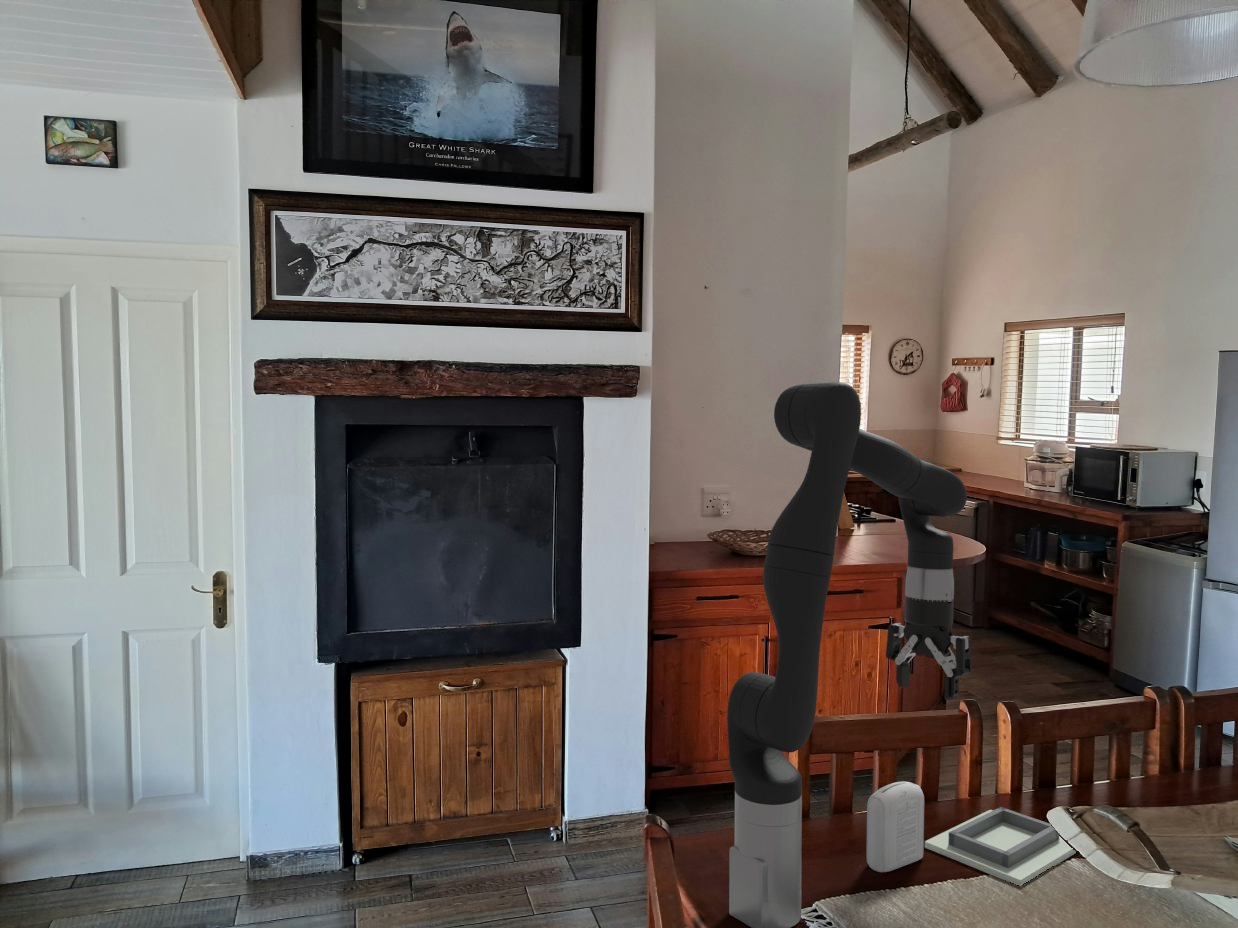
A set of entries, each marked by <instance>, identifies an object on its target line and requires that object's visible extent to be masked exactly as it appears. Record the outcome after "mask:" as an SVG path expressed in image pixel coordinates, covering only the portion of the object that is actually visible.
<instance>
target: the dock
mask: <svg viewBox="0 0 1238 928" xmlns="http://www.w3.org/2000/svg"><path fill="white" fill-rule="evenodd" d="M1051 824H1052V823H1048V822H1046V821H1043V820H1040V819H1037V818H1035V817H1031V816H1028V815H1025V814H1023V813H1019V812H1017V811H1014V810H1012V809H1011V810H1010V809H1008V808H1005V807H1002V806H1000V807H997V808H996V809H994V810H992V809H989V810H986V811H985V812H982V813H981V814H978V815H977V816H974V817H972V818H970V819H967V820H966V821H965V822H962V823H960V824H958V825H956V826H954V827H951V828H950V829H947V830H946V831H943V832H941V833H939V834H937V835H935V836H933V837H931V838H929V839H927V840H924V849H927V850H930V851H932V852H935V853H937V854H939V855H942V856H944V857H947V858H950V859H951V860H954V861H957V862H959V863H961V864H964V865H967V866H969V867H972V868H974V869H977V870H979V871H981V872H983V873H986V874H988V875H990V876H994V878H995V877H996V878H998V879H1001V880H1003V881H1005V880H1006V882H1008V883H1010V882H1011V883H1010V884H1012V883H1014V884H1013V885H1015V884H1017V885H1019V886H1018V887H1020V888H1021V887H1023V886H1024V885H1025V884H1024V883H1026V882H1028V881H1029V880H1031V879H1033V878H1034V877H1035V876H1037V875H1039V874H1040V873H1042V872H1044V871H1045V870H1047V869H1049V868H1051V867H1052V866H1054V867H1055V866H1057V865H1059V864H1061V863H1062V862H1064V861H1065V860H1067V859H1069V858H1071V857H1072V856H1074V855H1075V854H1076V851H1075V850H1073V848H1071V847H1070V846H1069V845H1068V844H1067V843H1066V842H1065V841H1064V840H1063V839H1062V838H1061V837H1060V836H1059V834H1060V833H1059V834H1058V833H1057V832H1056V830H1055V829H1054V828H1053V827H1052V826H1051ZM1052 868H1053V867H1052ZM1052 868H1051V869H1052ZM1049 870H1050V869H1049ZM1047 871H1048V870H1047ZM1044 873H1045V872H1044ZM1042 874H1043V873H1042ZM1039 876H1040V875H1039ZM1037 877H1038V876H1037ZM1034 879H1035V878H1034ZM1034 879H1033V880H1034ZM1031 881H1032V880H1031ZM1029 882H1030V881H1029ZM1029 882H1028V883H1029ZM1023 884H1024V885H1023ZM1026 884H1027V883H1026ZM1017 885H1016V886H1017ZM1022 885H1023V886H1022Z"/></svg>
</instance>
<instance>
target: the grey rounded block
mask: <svg viewBox="0 0 1238 928" xmlns="http://www.w3.org/2000/svg"><path fill="white" fill-rule="evenodd" d="M866 805H867V807H866V810H867V811H866V863H867V864H868V866H869V868H871V869H872V870H873V871H875V872H877V873H878V872H879V873H887V872H891V871H894V870H896V869H901V868H902V867H905V866H907V865H911V864H913V863H915V862H917V861H919V860H921V859H922V858H924V845H925V840H924V839H925V838H924V831H925V827H924V826H925V795H924V793H923V790H922V789H921V786H920V785H918V784H915V783H913V782H910V781H895V782H893V783H889V784H887V785H885V786H884V785H883V787H880V788H879V789H878V790H876V791H874V793H872V794H871V795H870V797H869V798H868V801H867V803H866Z"/></svg>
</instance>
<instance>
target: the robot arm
mask: <svg viewBox="0 0 1238 928" xmlns="http://www.w3.org/2000/svg"><path fill="white" fill-rule="evenodd" d="M861 408H862V406H861V401H860V397H859V395H858V393H857V391H856V389H855V388H854V387H853V386H852V385H851V384H849V383H846V382H840V381H836V382H835V381H834V382H833V381H831V382H815V383H802V384H797V385H793V386H790V387H788V388H786V389H784V391H782V392H781V393H780V394H779V396H778V398H777V400H776V402H775V404H774V409H773V410H774V411H773V413H774V414H773V419H774V423H775V427H776V429H777V431H778V433H779V434H780V436H781V437H782V439H784V440H785V441H786V442H788V443H789V444H792V445H794V446H796V447H799V448H801V449H805V450H807V451H810V452H811V453H810V457H809V462H808V466H807V470H806V473H805V475H804V477H803V480H802V483H801V484H800V486H799V488H798V489H797V491H796V492H795V494H793V496H792V498H791V499H790V501H789V502H788V504H787V505H786V506H785V507H784V509H783V510H782V512H781V513H780V515H779V516H778V518H777V519H776V521H775V523H774V525H773V526H772V528H771V531H770V534H769V537H768V542H767V546H766V553H765V559H764V560H765V561H764V566H763V573H762V577H763V578H762V585H763V588H764V594H765V597H766V601H767V604H768V607H769V610H770V613H771V617H772V619H773V623H774V626H775V630H776V634H777V642H778V643H777V644H778V650H777V651H778V652H777V653H778V656H777V665H776V673H775V676H773V675H769V674H766V673H761V672H757V671H756V672H755V671H753V672H749V673H745V674H743V675H742V676H740V677H739V678H738V679H737V680H736V682H735V683H734V684H733V687H732V689H731V691H730V694H729V698H728V702H727V711H726V714H727V715H726V722H727V723H726V724H727V725H726V726H727V729H726V730H727V743H728V745H727V746H728V765H729V769H730V773H731V774H732V776H733V780H734V781H733V782H734V845H733V846H731V847H730V848H729V850H728V851H729V857H728V858H729V865H728V866H729V869H728V870H729V873H728V875H729V878H728V879H729V886H728V887H729V888H728V889H729V894H728V896H729V897H728V898H729V902H728V905H729V907H728V908H729V909H728V910H729V911H728V912H729V915H730V916H732V917H733V918H735V919H737V920H738V921H740V922H742V923H743V924H745V925H746V926H749V927H750V928H792V927H794V926H796V925H797V924H798V923H799V922H800V921H801V918H802V822H803V821H802V814H803V812H802V810H803V809H802V808H803V807H802V805H803V800H802V799H803V796H802V795H803V794H802V792H803V790H802V789H803V783H802V782H803V781H802V779H803V778H802V775H801V773H800V771H799V769H797V767H795V765H794V764H793V763H792V762H791V761H790V760H789V759H788V758H787V757H786V755H785V754H784V753H787V754H788V753H794V752H797V751H799V750H801V748H803V747H804V745H805V744H806V742H807V741H808V740H809V738H810V736H811V734H812V730H813V727H814V723H815V718H816V714H817V713H816V712H817V704H818V703H817V702H818V701H817V700H818V691H819V690H818V685H819V668H820V654H821V642H822V633H823V632H822V631H823V625H824V618H825V610H826V604H827V603H826V602H827V597H828V592H829V586H830V582H831V576H832V568H833V564H834V555H835V549H836V539H837V533H838V526H839V522H840V517H841V516H840V514H841V510H842V505H843V504H842V503H843V499H844V493H845V489H846V484H847V481H848V476H849V472H850V470H852V471H854V472H856V473H858V474H859V475H861V476H863V477H865V478H866V479H867V480H869V481H870V482H873V483H874V484H876V485H877V486H878V487H881V488H882V489H883V490H885V491H886V492H888V493H889V494H891V495H894V496H896V497H898V505H899V510H900V512H901V517H902V520H903V521H902V522H903V525H904V530H905V533H906V537H907V543H908V545H907V548H908V549H907V569H906V570H907V571H906V576H905V589H904V591H905V595H904V621H905V625H903V624H902V623H901V622H897V623H891V624H889V625H888V626H887V637H886V638H887V639H886V650H885V657H886V658H887V659H888V660H891V661H893V662H894V663H895V664H896V675H895V676H896V679H895V681H896V683H897V685H898V686H897V687H898V688H901V689H906V688H908V687H909V686H910V683H911V682H910V681H911V680H910V679H911V665H910V664H909V663H910V662H911V661H912V659H913V658H914V657H915V656H919V657H923V656H924V657H926V658H928V659H934V660H936V662H937V664H938V665H939V666H941V668H942V669H943V672H944V673H945V674H946V676H945V677H944V696H943V698H944V700H947V701H952V700H955V699H956V697H958V696H959V694H960V693H959V691H960V685H959V684H960V677H961V676H964V675H969V674H971V673H972V669H973V667H972V639H971V637H970V636H969V635H964V636H958V635H954V634H953V632H952V628H953V623H954V601H955V599H954V596H955V577H954V569H953V568H954V539H953V537H952V535H951V534H949V533H948V532H946V531H944V530H941V529H938V528H936V527H935V526H934V524H933V523H932V520H931V517H941V518H949V517H953V516H957V515H958V514H959V513H961V511H963V509H964V508H965V506H966V504H967V500H968V493H967V488H966V486H965V483H964V482H963V481H962V480H961V479H960V477H959V476H958V475H956V474H955V473H953V472H952V471H950V470H948V469H946V468H944V467H940V466H938V465H936V464H933V463H931V462H928V461H925V460H923V459H920V458H919V457H917V456H916V455H915V454H913V453H912V452H911V451H909V450H908V449H906V448H905V447H903V446H902V445H901V444H899V443H898V442H895V441H893V440H891V439H888V438H886V437H883V436H881V435H878V434H875V433H872V432H870V431H866V430H865V429H864V430H863V429H861V428H860V427H861V419H862V418H861V417H862V409H861ZM903 637H905V639H906V641H907V642H906V644H905V645H904V646H903V647H902V639H903ZM952 645H953V646H952ZM951 646H952V647H953V649H954V650H955V654H954V652H953V651H952V650H951Z"/></svg>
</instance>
